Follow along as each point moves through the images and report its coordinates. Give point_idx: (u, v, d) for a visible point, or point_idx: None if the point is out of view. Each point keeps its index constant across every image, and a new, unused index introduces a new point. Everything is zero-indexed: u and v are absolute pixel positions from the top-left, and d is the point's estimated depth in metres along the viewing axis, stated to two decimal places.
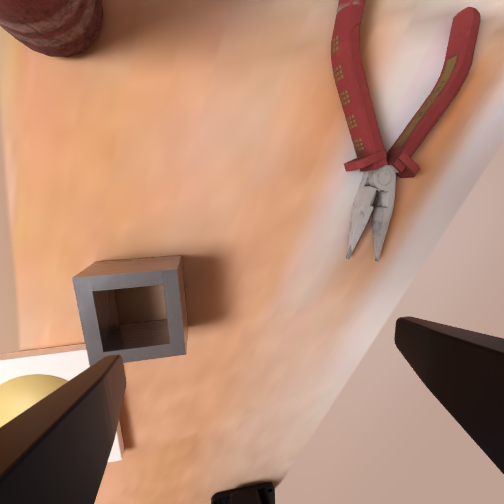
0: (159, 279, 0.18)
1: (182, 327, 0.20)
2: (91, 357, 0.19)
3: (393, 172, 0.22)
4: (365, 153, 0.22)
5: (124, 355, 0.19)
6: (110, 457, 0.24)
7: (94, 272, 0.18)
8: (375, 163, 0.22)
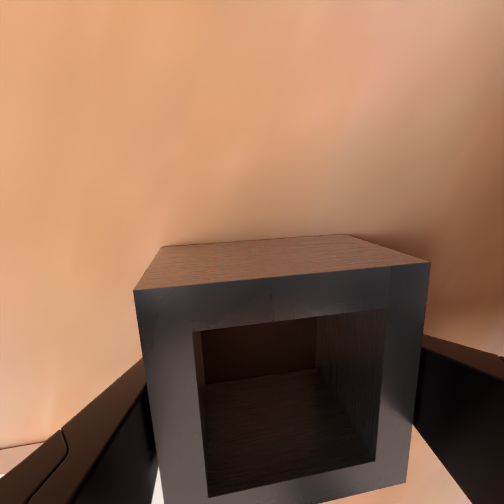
0: (381, 293, 0.06)
1: (409, 418, 0.07)
2: None
3: None
4: None
5: (261, 500, 0.07)
6: None
7: (188, 271, 0.06)
8: None
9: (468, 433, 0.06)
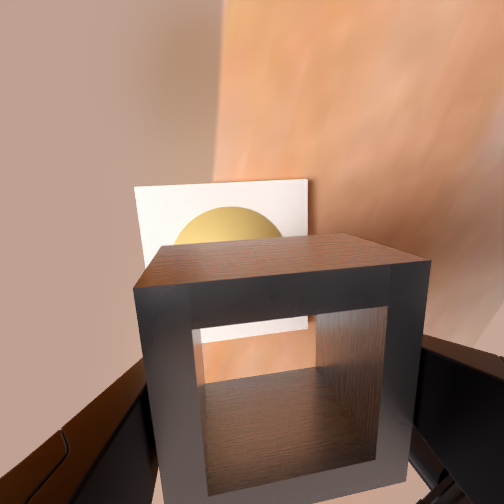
0: (381, 291, 0.06)
1: (409, 417, 0.07)
2: None
3: None
4: None
5: (261, 498, 0.07)
6: (297, 324, 0.21)
7: (188, 270, 0.06)
8: None
9: (468, 433, 0.06)
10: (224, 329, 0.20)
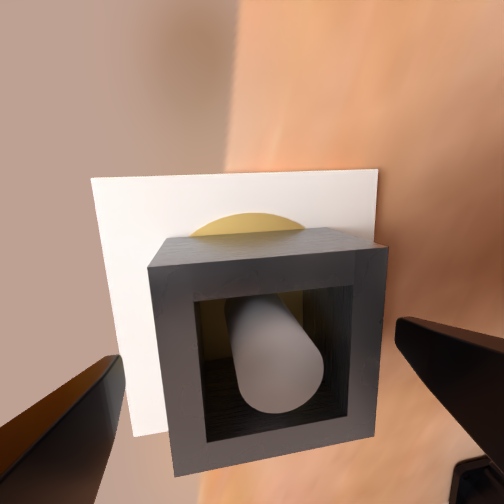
0: (348, 272, 0.08)
1: (375, 380, 0.09)
2: (179, 456, 0.08)
3: None
4: None
5: (251, 447, 0.08)
6: None
7: (190, 255, 0.08)
8: None
9: None
10: None
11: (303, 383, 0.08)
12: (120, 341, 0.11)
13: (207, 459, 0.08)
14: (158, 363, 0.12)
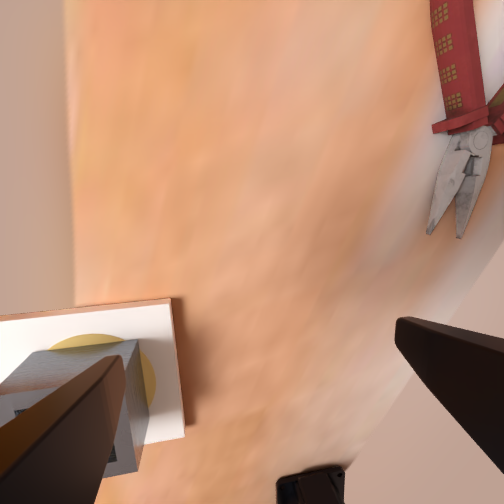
0: None
1: (132, 441, 0.16)
2: None
3: (490, 135, 0.20)
4: (462, 110, 0.19)
5: None
6: (172, 433, 0.21)
7: (19, 382, 0.15)
8: (475, 122, 0.19)
9: None
10: None
11: None
12: None
13: None
14: None
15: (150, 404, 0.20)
